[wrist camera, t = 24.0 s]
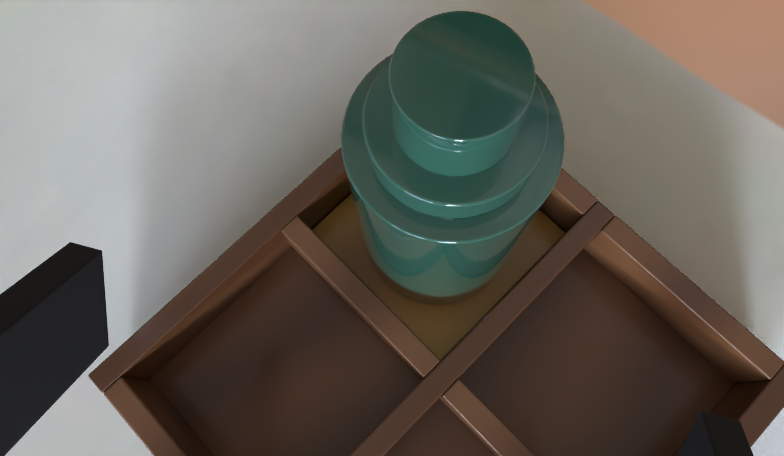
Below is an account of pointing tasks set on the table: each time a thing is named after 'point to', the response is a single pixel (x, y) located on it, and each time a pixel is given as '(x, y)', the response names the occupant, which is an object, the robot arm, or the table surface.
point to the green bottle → (450, 155)
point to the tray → (437, 347)
